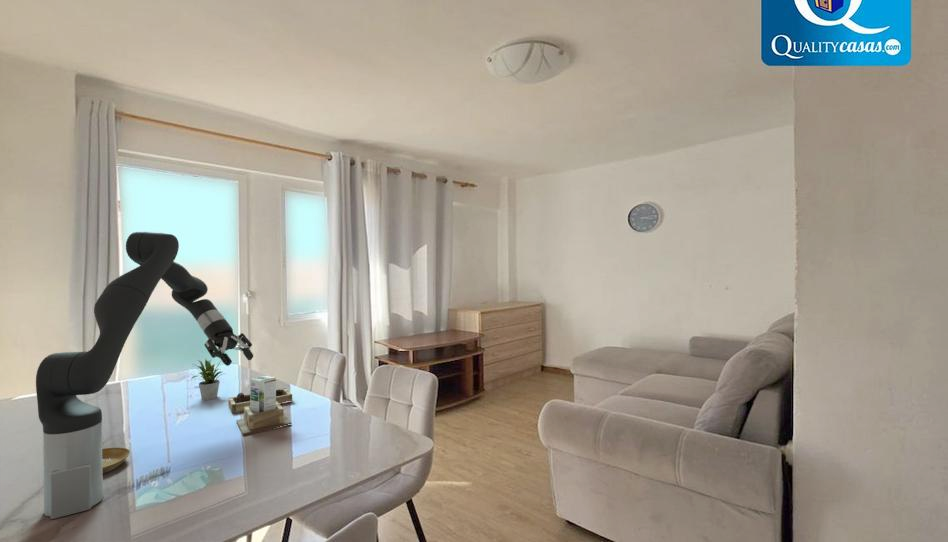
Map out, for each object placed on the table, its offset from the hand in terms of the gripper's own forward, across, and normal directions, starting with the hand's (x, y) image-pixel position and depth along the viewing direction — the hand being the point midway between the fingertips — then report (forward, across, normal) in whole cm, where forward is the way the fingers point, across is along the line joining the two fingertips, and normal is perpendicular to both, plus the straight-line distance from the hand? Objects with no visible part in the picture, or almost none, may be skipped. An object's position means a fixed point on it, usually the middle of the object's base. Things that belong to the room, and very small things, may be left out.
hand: (240, 361), depth 140 cm
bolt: (+5, +16, +16) cm, 23 cm away
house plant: (-10, +15, +39) cm, 43 cm away
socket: (+21, 0, +7) cm, 22 cm away
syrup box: (+20, 0, +7) cm, 22 cm away
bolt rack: (+9, +16, +20) cm, 27 cm away
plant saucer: (+9, -38, +20) cm, 44 cm away
